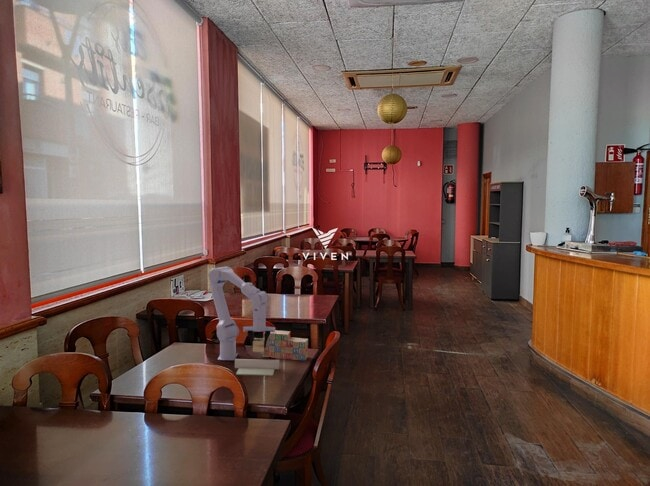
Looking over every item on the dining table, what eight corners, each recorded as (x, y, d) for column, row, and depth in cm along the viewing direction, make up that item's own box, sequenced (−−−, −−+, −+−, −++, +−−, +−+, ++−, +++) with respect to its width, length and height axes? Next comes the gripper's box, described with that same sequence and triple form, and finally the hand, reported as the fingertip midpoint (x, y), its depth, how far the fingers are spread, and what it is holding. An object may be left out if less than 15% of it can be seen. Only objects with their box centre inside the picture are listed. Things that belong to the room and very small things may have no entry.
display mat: (238, 369, 199) (238, 368, 199) (274, 369, 199) (274, 368, 199) (236, 374, 192) (236, 373, 192) (273, 375, 192) (273, 374, 192)
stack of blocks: (307, 357, 218) (308, 332, 218) (304, 361, 212) (305, 336, 212) (266, 353, 223) (267, 329, 222) (262, 357, 217) (263, 332, 216)
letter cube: (254, 348, 207) (254, 337, 206) (264, 348, 207) (265, 338, 207) (252, 352, 202) (252, 341, 202) (263, 352, 202) (263, 341, 202)
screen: (235, 367, 201) (235, 358, 200) (279, 368, 201) (279, 359, 201) (234, 368, 200) (234, 359, 199) (279, 369, 200) (279, 360, 200)
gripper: (242, 319, 199) (241, 349, 200) (274, 320, 200) (273, 350, 201) (244, 316, 206) (244, 344, 207) (275, 316, 207) (275, 345, 208)
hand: (258, 347), depth 204 cm, fingers closed on letter cube, 5 cm apart
